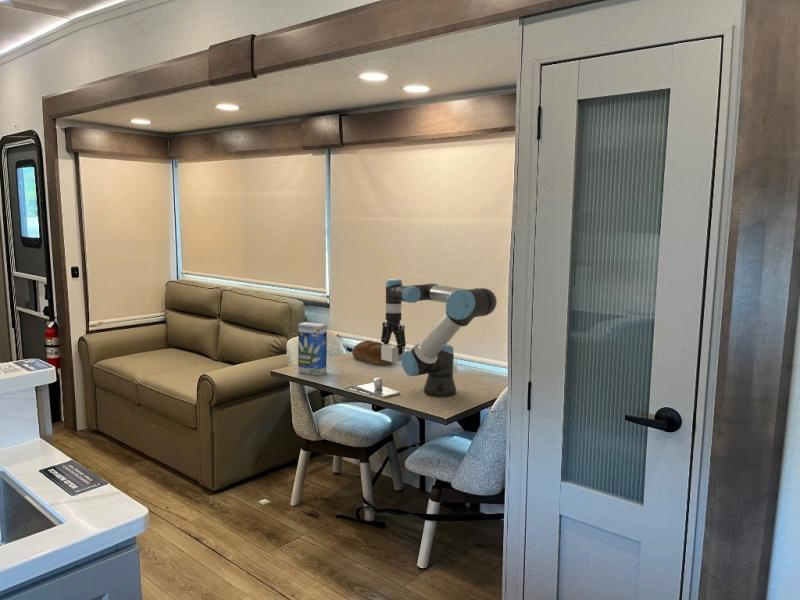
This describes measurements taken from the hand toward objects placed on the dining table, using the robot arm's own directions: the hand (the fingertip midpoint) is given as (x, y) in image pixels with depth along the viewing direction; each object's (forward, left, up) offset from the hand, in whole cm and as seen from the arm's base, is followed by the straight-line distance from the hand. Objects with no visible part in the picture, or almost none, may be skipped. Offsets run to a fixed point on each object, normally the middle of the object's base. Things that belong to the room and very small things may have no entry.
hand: (393, 358), depth 287 cm
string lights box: (+46, +15, -14) cm, 51 cm away
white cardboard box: (0, 0, 0) cm, 0 cm away
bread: (+48, -26, -14) cm, 56 cm away
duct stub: (-1, +9, -14) cm, 17 cm away
